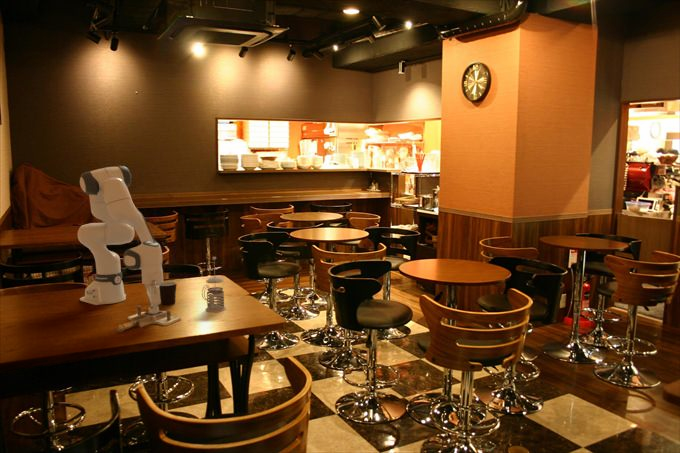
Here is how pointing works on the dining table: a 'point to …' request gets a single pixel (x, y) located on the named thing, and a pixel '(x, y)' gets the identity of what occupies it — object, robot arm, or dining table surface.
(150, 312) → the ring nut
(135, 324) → the pin
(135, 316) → the cradle
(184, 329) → the dining table surface
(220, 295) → the french press
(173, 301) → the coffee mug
